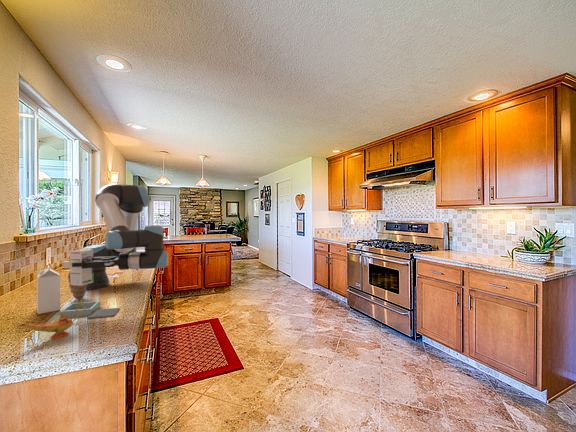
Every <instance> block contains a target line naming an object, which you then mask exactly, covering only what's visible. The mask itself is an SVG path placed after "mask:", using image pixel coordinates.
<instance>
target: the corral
mask: <svg viewBox="0 0 576 432" xmlns="http://www.w3.org/2000/svg"><path fill="white" fill-rule="evenodd" d="M78 304H79V302H78ZM78 304H77V302H72V303H70V304H68V305H67V306H65V307H64V308H63V309H62V310H59V318H60V317H61V316H62V314H63V313H64V314H65V316H69V317H68V318H71V317H72V316H73V315H74V314H75V312H77V311H76V310H77V308H78V307H77V306H79V308H78V312H77V314H76V315H74V317H78V316H80V315H81V314H82V313H83V312H84V311H85V309H86V311H85V313H84V314H83V315H81V316H80V317H85V316H87V317H88V316H89V315H91V314H92V313H93V312H94V311H95V310H98V309H100V307H101V301H100V300H99V301H95V300H94V301H83V303H82V302H81V305H82V306H83V307H85V309H84V308H83V307H81V306H80V305H78ZM74 317H73V318H74Z"/></svg>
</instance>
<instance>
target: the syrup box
mask: <svg viewBox="0 0 576 432" xmlns="http://www.w3.org/2000/svg"><path fill="white" fill-rule="evenodd" d="M82 260H84V261H93V249H83V248H81V249H75V250H70V251H69V261H82ZM85 266H86V264H85ZM69 269H70V270H69V272H70V282H71V285H77V286H82V285H85V284H89V283H93V282H94V273H93V268H84V269H82V268H69Z"/></svg>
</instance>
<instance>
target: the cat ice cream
mask: <svg viewBox="0 0 576 432" xmlns="http://www.w3.org/2000/svg"><path fill="white" fill-rule="evenodd" d="M67 275H68V276H67V279H68V282H69V285H68V286H69V290H70V292H71V294H72V296H73V298H74V299H75V300H82V299H83V298H84V297H85V294H86V291H87V290H86V287H87V284H85V285H82V286H77V285H71V282H70V271H69V272H68V274H67Z"/></svg>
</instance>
